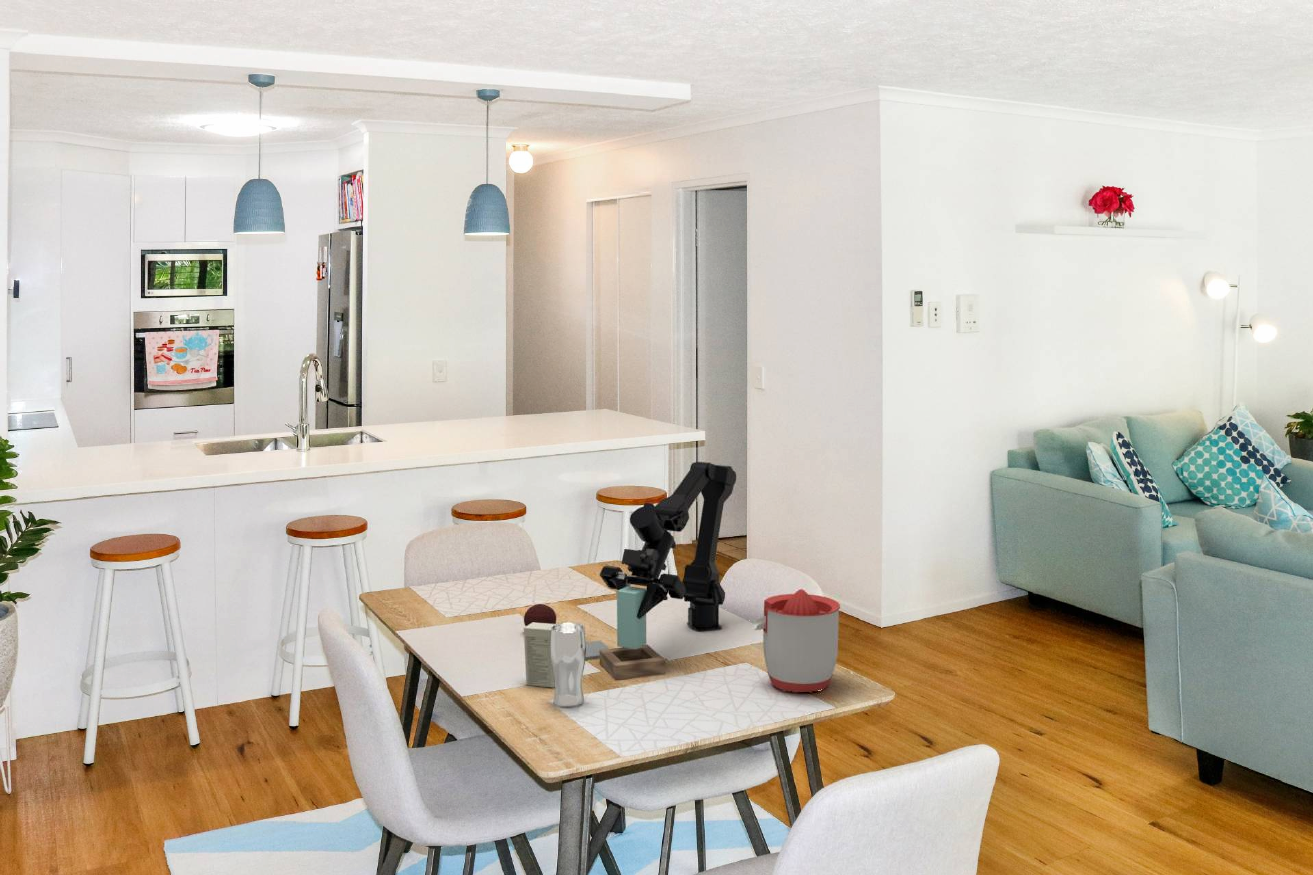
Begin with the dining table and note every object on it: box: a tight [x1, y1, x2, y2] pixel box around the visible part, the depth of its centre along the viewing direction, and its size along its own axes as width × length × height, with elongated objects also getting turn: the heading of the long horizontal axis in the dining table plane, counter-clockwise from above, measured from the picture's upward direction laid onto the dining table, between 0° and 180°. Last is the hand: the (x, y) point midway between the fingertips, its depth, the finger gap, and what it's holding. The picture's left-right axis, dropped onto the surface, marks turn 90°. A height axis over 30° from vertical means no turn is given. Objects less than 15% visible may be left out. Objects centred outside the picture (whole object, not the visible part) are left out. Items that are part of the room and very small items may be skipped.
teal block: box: [616, 585, 647, 650], centre depth 234 cm, size 4×4×12 cm
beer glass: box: [550, 622, 587, 708], centre depth 215 cm, size 7×7×15 cm
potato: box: [523, 603, 557, 627], centre depth 260 cm, size 7×8×7 cm
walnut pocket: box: [599, 643, 666, 681], centre depth 235 cm, size 11×11×3 cm
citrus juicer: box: [753, 588, 841, 693], centre depth 224 cm, size 16×17×20 cm
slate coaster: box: [585, 640, 610, 661], centre depth 246 cm, size 10×10×1 cm
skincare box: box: [523, 622, 557, 688], centre depth 226 cm, size 6×4×12 cm
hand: (628, 616), depth 233 cm, fingers closed on teal block, 4 cm apart
